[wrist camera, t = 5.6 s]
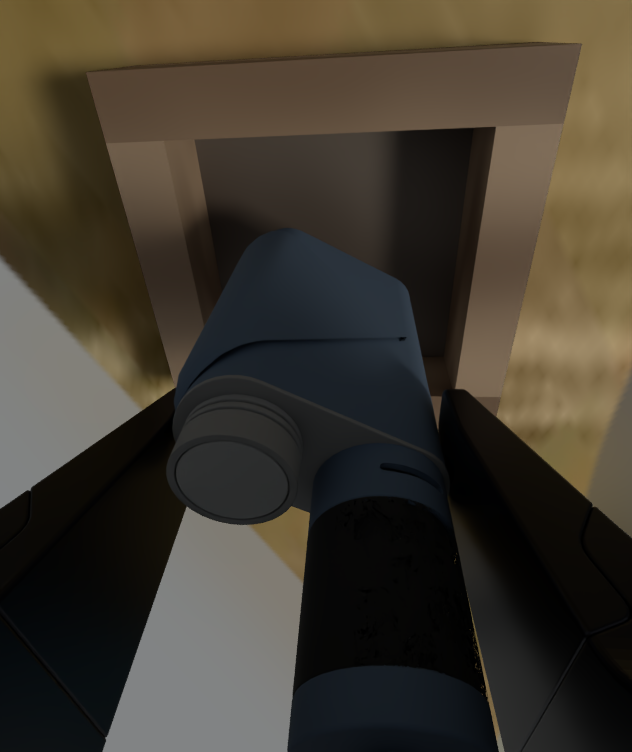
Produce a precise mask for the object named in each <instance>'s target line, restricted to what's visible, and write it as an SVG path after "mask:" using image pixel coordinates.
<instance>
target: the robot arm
mask: <svg viewBox="0 0 632 752" xmlns="http://www.w3.org/2000/svg"><path fill="white" fill-rule="evenodd" d="M175 391H176V388H174V389H172V390H171V391H170V392H168V393H167V394H165V395H164V396H162V397H161V398H160V399H158V400H157V401H155V402H154V403H152V404H151V405H149V406H148V407H147V408H145V409H144V410H142V411H141V412H139V413H138V414H137V415H135V416H134V417H132V418H131V419H129V420H128V421H126V422H125V423H124V424H122V425H121V426H119V427H118V428H116V429H115V430H114V431H112V432H111V433H109V434H108V435H106V436H105V437H103V438H102V439H101V440H99V441H98V442H96V443H95V444H93V445H92V446H90V447H89V448H88V449H86V450H85V451H84V452H82V453H80V454H79V455H77V456H76V457H75V458H73V459H72V460H70V461H69V462H68V463H66V464H64V465H63V466H62V467H60V468H59V469H57V470H56V471H55V472H53V473H51V474H50V475H49V476H47V477H46V478H44V479H43V480H41V481H40V482H39V483H37V484H36V485H35V486H33V487H32V488H31V491H28V490H27V491H25V492H24V493H23V494H21V495H20V496H18V497H17V498H15V499H14V500H12V501H11V502H10V503H8V504H7V505H5V506H4V507H2V508H1V509H0V752H102V751H103V748H104V745H105V742H106V739H105V737H107V735H108V733H109V729H110V727H111V724H112V721H113V718H114V715H115V712H116V710H117V707H118V704H119V701H120V698H121V695H122V692H123V689H124V686H125V683H126V681H127V678H128V675H129V672H130V669H131V666H132V663H133V660H134V657H135V654H136V652H137V649H138V646H139V642H140V640H141V637H142V634H143V631H144V628H145V625H146V623H147V619H148V617H149V614H150V611H151V608H152V605H153V602H154V599H155V597H156V594H157V591H158V588H159V585H160V582H161V579H162V576H163V573H164V570H165V568H166V565H167V562H168V559H169V556H170V553H171V550H172V547H173V544H174V541H175V539H176V536H177V533H178V530H179V527H180V524H181V521H182V518H183V515H184V512H185V510H186V507H187V506H186V505H184V504H183V503H182V502H181V501H180V500H179V499H178V498H177V497H176V495H175V494H174V493H173V491H172V490H171V487H170V485H169V483H168V480H167V476H166V467H167V463H168V459H169V457H170V455H171V453H172V451H173V448H174V446H175V444H176V443H175V440H174V436H173V429H172V427H173V418H174V414H175V406H174V397H175ZM184 396H185V395H184ZM438 433H439V438H440V442H441V447H442V452H443V457H444V461H445V466H446V469H447V471H448V473H449V478H450V491H449V494H448V502H449V506H450V511H451V516H452V521H453V526H454V531H455V537H456V541H457V546H458V551H459V556H460V561H461V566H462V571H463V576H464V581H465V586H466V590H467V594H468V599H469V603H470V607H471V611H472V616H473V620H474V624H475V628H476V632H477V637H478V641H479V645H480V649H481V654H482V658H483V662H484V666H485V671H486V675H487V679H488V683H489V687H490V692H491V696H492V700H493V704H494V709H495V713H496V717H497V721H498V726H499V730H500V734H501V738H502V742H503V746H504V751H505V752H632V538H631V537H630V536H629V535H628V534H626V533H625V532H624V531H623V530H622V529H621V528H619V527H618V526H617V525H616V524H615V523H614V522H613V521H611V520H610V519H609V518H608V517H607V516H606V515H605V514H603V513H602V512H601V511H600V510H599V509H598V508H597V507H592V506H593V505H592V503H591V502H590V501H589V500H588V499H587V498H586V497H585V496H583V495H582V494H581V493H580V492H579V491H578V490H577V489H576V488H575V487H573V486H572V485H571V484H570V483H569V482H568V481H567V480H566V479H565V478H563V477H562V476H561V475H560V474H559V473H558V472H557V471H556V470H555V469H553V468H552V467H551V466H550V465H549V464H548V463H547V462H546V461H545V460H543V459H542V458H541V457H540V456H539V455H538V454H537V453H536V452H535V451H533V450H532V449H531V448H530V447H529V446H528V445H527V444H526V443H525V442H523V441H522V440H521V439H520V438H519V437H518V436H517V435H516V434H515V433H513V432H512V431H511V430H510V429H509V428H508V427H507V426H506V425H505V424H504V423H502V422H501V421H500V420H499V419H498V418H497V417H496V416H495V415H494V414H492V413H491V412H490V411H489V410H488V409H487V408H486V407H485V406H484V405H482V404H481V403H480V402H479V401H478V400H477V399H476V398H475V397H474V396H472V395H471V394H470V393H469V392H468V391H467V390H465V389H445V390H444V391H443V393H442V399H441V407H440V414H439V422H438ZM466 636H467V635H466ZM472 648H473V645H472Z"/></svg>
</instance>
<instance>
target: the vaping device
mask: <svg viewBox="0 0 632 752" xmlns="http://www.w3.org/2000/svg"><path fill="white" fill-rule="evenodd" d="M184 395H185V396H184ZM174 406H175V414H174V418H173V427H172V429H173V436H174V440H175V443H176V444H175V446H174V448H173V451H172V453H171V455H170V457H169V459H168V463H167V467H166V476H167V480H168V483H169V485H170V487H171V490H172V491H173V493H174V494H175V495H176V497H177V498H178V499H179V500H180V501H181V502H182V503H183V504H184V505H186V506H187V507H189V508H190V509H191V510H193V511H195V512H197V513H199V514H200V515H202V516H204V517H207V518H209V519H212V520H215V521H219V522H223V523H228V524H237V525H238V524H239V525H250V524H258V523H263V522H267V521H270V520H273V519H275V518H277V517H279V516H280V515H282V514H283V513H285V512H286V511H287V510H288V509H289V508H290V507H291V506H293V507H296V508H298V509H301V510H304V511H307V512H309V513H310V520H309V530H308V541H307V551H306V562H305V572H304V582H303V593H302V603H301V614H300V624H299V634H298V645H297V655H296V665H295V676H294V686H293V699H292V707H291V717H290V728H289V739H288V749H287V750H288V752H499V751H498V746H497V741H496V736H495V731H494V726H493V721H492V716H491V711H490V707H489V702H487V699H488V697H486V698H485V696H486V693H487V691H486V686H485V681H484V676H483V671H482V666H481V661H480V657H479V651H478V646H475V643H476V645H477V642H476V637H474V638H473V636H474V635H475V632H474V629H473V622H472V616H471V611H470V606H469V601H468V596H467V591H466V586H465V581H464V576H463V571H462V566H461V561H460V556H459V551H458V546H457V541H456V537H455V531H454V526H453V521H452V516H451V511H450V506H449V502H448V494H449V491H450V478H449V473H448V471H447V469H446V466H445V461H444V457H443V452H442V447H441V442H440V438H439V433H438V428H437V423H436V419H435V414H434V409H433V404H432V400H431V396H430V392H429V388H428V383H427V379H426V374H425V369H424V364H423V359H422V355H421V350H420V345H419V340H418V335H417V331H416V326H415V321H414V316H413V312H412V307H411V302H410V297H409V293H408V290H407V288H406V287H405V285H404V284H403V283H402V282H401V281H399V280H398V279H396V278H394V277H392V276H390V275H388V274H386V273H384V272H382V271H380V270H378V269H376V268H374V267H372V266H370V265H368V264H366V263H364V262H362V261H360V260H358V259H356V258H354V257H352V256H350V255H348V254H346V253H345V252H343V251H341V250H339V249H337V248H335V247H333V246H331V245H329V244H327V243H325V242H323V241H321V240H319V239H317V238H315V237H313V236H311V235H309V234H307V233H305V232H303V231H300V230H298V229H293V228H282V229H278V230H275V231H271V232H268V233H266V234H264V235H261V236H259V237H258V238H256V239H255V240H254V241H253V242H252V243H251V244H250V245H249V246H247V248H246V250H245V251H244V253H243V255H242V256H241V258H240V260H239V262H238V263H237V265H236V267H235V269H234V271H233V273H232V275H231V277H230V279H229V280H228V282H227V284H226V286H225V288H224V290H223V292H222V294H221V296H220V297H219V299H218V301H217V303H216V305H215V307H214V309H213V311H212V313H211V314H210V316H209V318H208V320H207V322H206V324H205V326H204V328H203V330H202V331H201V333H200V335H199V337H198V339H197V341H196V343H195V345H194V347H193V349H192V350H191V352H190V354H189V356H188V358H187V360H186V362H185V364H184V366H183V367H182V369H181V371H180V373H179V376H178V381H177V386H176V391H175V397H174ZM455 556H456V557H455ZM455 558H456V561H454V560H455ZM461 594H462V595H461ZM448 612H449V613H448ZM471 633H472V634H471ZM466 634H467V636H466ZM473 639H474V641H473ZM472 645H473V648H472ZM474 648H475V649H474ZM475 650H477V652H478V654H477V652H476V651H475ZM477 655H478V656H477ZM475 658H476V659H475ZM477 660H478V661H477ZM476 662H477V665H476ZM480 666H481V667H480ZM475 667H476V668H475ZM479 668H481V669H479ZM478 672H479V673H478ZM481 672H482V673H481ZM483 686H484V687H483ZM481 688H482V689H481ZM481 693H482V694H483V695H482V694H481Z"/></svg>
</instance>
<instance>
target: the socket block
mask: <svg viewBox="0 0 632 752" xmlns="http://www.w3.org/2000/svg"><path fill="white" fill-rule="evenodd" d="M581 46H582V44H578V43H549V42H532V43H515V44H498V45H481V46H464V47H447V48H430V49H413V50H395V51H378V52H361V53H344V54H327V55H310V56H293V57H276V58H259V59H242V60H225V61H208V62H190V63H173V64H156V65H139V66H130V67H122V68H115V69H107V70H99V71H92V72H86V75H87V78H88V82H89V85H90V89H91V92H92V96H93V99H94V103H95V106H96V110H97V113H98V117H99V121H100V124H101V128H102V131H103V135H104V138H105V142H106V145H107V149H108V152H109V156H110V159H111V163H112V166H113V170H114V173H115V177H116V181H117V184H118V188H119V191H120V195H121V198H122V202H123V205H124V209H125V212H126V216H127V219H128V223H129V226H130V230H131V233H132V237H133V240H134V244H135V248H136V251H137V255H138V258H139V262H140V265H141V269H142V272H143V276H144V279H145V283H146V286H147V290H148V293H149V297H150V300H151V304H152V308H153V311H154V315H155V318H156V322H157V325H158V329H159V332H160V336H161V339H162V343H163V346H164V350H165V353H166V357H167V360H168V364H169V367H170V371H171V375H172V378H173V382H174V385H175V388H176V386H177V381H178V376H179V373H180V371H181V369H182V367H183V366H184V364H185V362H186V360H187V358H188V356H189V354H190V352H191V350H192V349H193V347H194V345H195V343H196V341H197V339H198V337H199V335H200V333H201V331H202V330H203V328H204V326H205V324H206V322H207V320H208V318H209V316H210V314H211V313H212V311H213V309H214V307H215V305H216V303H217V301H218V299H219V297H220V296H221V294H222V292H223V290H224V288H225V286H226V284H227V282H228V280H229V279H230V277H231V275H232V273H233V271H234V269H235V267H236V265H237V263H238V262H239V260H240V258H241V256H242V255H243V253H244V251H245V250H246V248H247V246H249V245H250V244H251V243H252V242H253V241H254V240H255V239H256V238H258V237H259V236H261V235H264V234H266V233H268V232H271V231H275V230H278V229H282V228H293V229H298V230H300V231H303V232H305V233H307V234H309V235H311V236H313V237H315V238H317V239H319V240H321V241H323V242H325V243H327V244H329V245H331V246H333V247H335V248H337V249H339V250H341V251H343V252H345V253H346V254H348V255H350V256H352V257H354V258H356V259H358V260H360V261H362V262H364V263H366V264H368V265H370V266H372V267H374V268H376V269H378V270H380V271H382V272H384V273H386V274H388V275H390V276H392V277H394V278H396V279H398V280H399V281H401V282H402V283H403V284H404V285H405V287H406V288H407V290H408V293H409V297H410V302H411V307H412V312H413V316H414V321H415V326H416V331H417V335H418V340H419V345H420V350H421V355H422V359H423V364H424V369H425V374H426V379H427V383H428V388H429V392H430V396H431V400H432V404H433V409H434V414H435V419H436V423H437V428H438V422H439V414H440V407H441V399H442V393H443V391H444V390H445V389H465V390H467V391H468V392H469V393H470V394H471V395H472V396H474V397H475V398H476V399H477V400H478V401H479V402H480V403H481V404H482V405H484V406H485V407H486V408H487V409H488V410H489V411H490V412H491V413H492V414H494V415H495V416H497V411H498V407H499V402H500V398H501V394H502V389H503V385H504V381H505V376H506V372H507V368H508V363H509V359H510V355H511V350H512V346H513V342H514V337H515V333H516V329H517V324H518V320H519V316H520V311H521V307H522V303H523V298H524V294H525V289H526V285H527V281H528V276H529V272H530V268H531V263H532V259H533V255H534V250H535V246H536V242H537V237H538V233H539V229H540V224H541V220H542V216H543V211H544V207H545V203H546V198H547V194H548V189H549V185H550V181H551V176H552V172H553V168H554V163H555V159H556V155H557V150H558V146H559V142H560V137H561V133H562V129H563V124H564V120H565V116H566V111H567V107H568V103H569V98H570V94H571V90H572V85H573V81H574V76H575V72H576V68H577V63H578V59H579V55H580V50H581Z"/></svg>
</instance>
